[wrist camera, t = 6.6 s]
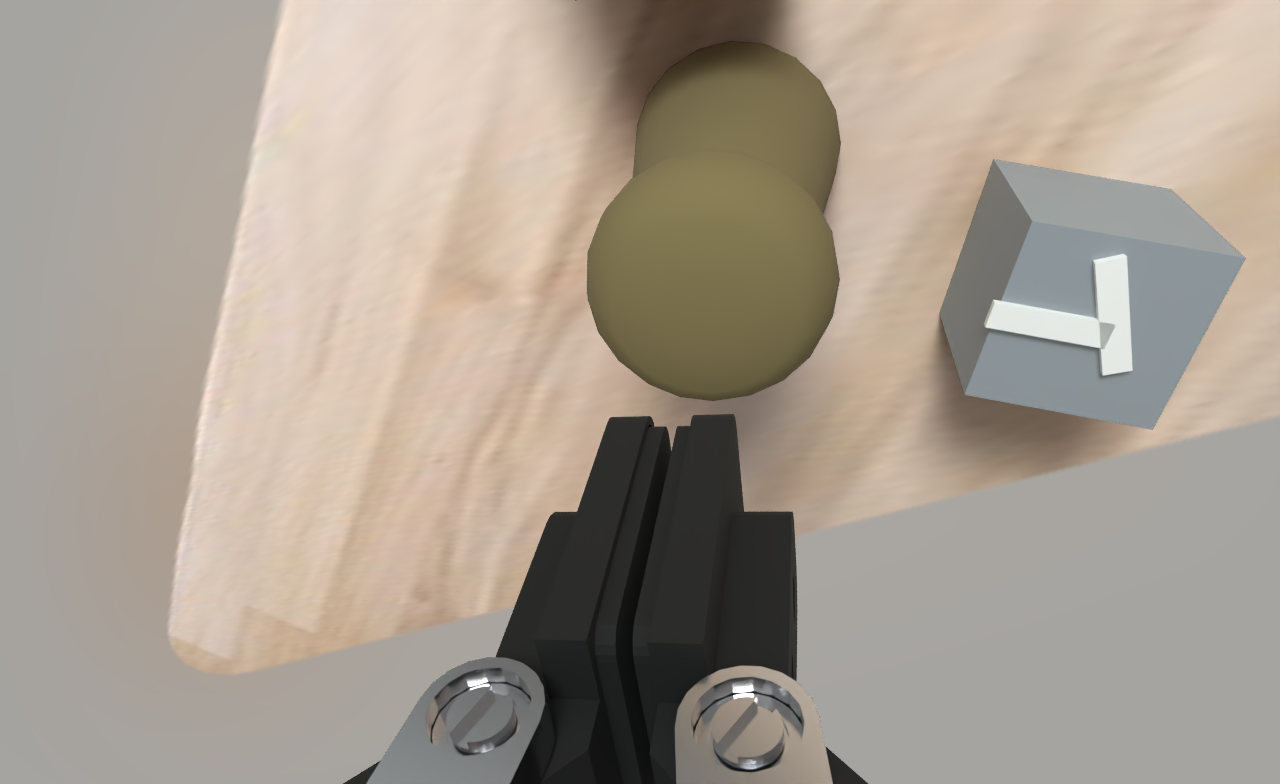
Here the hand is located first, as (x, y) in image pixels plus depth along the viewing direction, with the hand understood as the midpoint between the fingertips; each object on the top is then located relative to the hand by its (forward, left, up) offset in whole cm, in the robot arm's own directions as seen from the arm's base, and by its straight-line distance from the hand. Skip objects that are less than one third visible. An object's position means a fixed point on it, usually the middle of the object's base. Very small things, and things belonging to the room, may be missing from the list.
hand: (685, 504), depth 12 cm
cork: (0, 0, -17) cm, 17 cm away
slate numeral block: (-9, +4, -17) cm, 19 cm away
